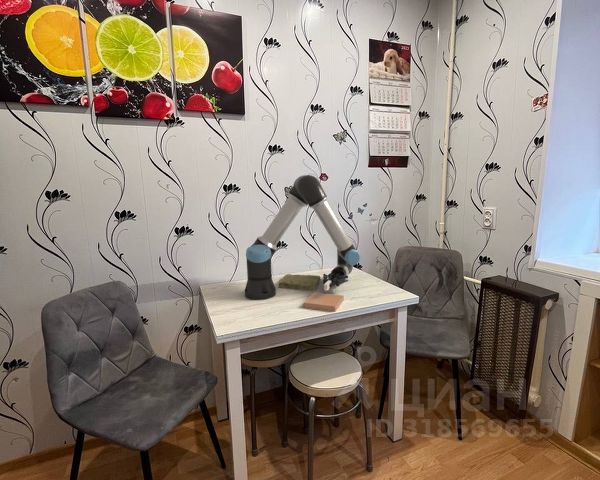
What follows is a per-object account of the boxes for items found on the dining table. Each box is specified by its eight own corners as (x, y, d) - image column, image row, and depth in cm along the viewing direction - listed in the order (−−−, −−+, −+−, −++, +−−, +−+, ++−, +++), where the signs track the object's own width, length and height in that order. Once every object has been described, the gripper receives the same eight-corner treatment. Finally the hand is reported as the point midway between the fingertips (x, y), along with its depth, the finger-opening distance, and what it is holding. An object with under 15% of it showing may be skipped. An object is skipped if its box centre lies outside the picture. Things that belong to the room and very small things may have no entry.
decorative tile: (285, 279, 184) (285, 273, 183) (320, 280, 180) (320, 274, 179) (276, 289, 166) (276, 283, 165) (315, 291, 162) (315, 284, 161)
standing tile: (314, 297, 153) (303, 308, 140) (314, 292, 153) (303, 302, 140) (343, 301, 148) (335, 312, 135) (343, 295, 148) (335, 306, 135)
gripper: (352, 281, 164) (339, 297, 143) (327, 279, 169) (311, 294, 148) (352, 267, 163) (339, 280, 141) (327, 265, 168) (311, 278, 146)
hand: (325, 287), depth 144 cm, fingers closed
